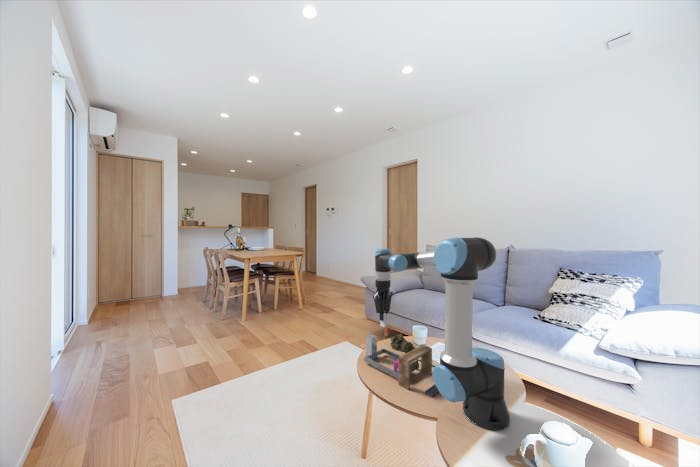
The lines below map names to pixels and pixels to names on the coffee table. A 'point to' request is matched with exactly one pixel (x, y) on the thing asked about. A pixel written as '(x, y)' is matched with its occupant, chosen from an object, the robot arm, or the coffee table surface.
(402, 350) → the rock
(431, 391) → the pit tray
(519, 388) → the coffee table surface
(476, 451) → the coffee table surface
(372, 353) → the sled
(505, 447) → the coffee table surface
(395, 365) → the puzzle toy
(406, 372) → the tunnel
